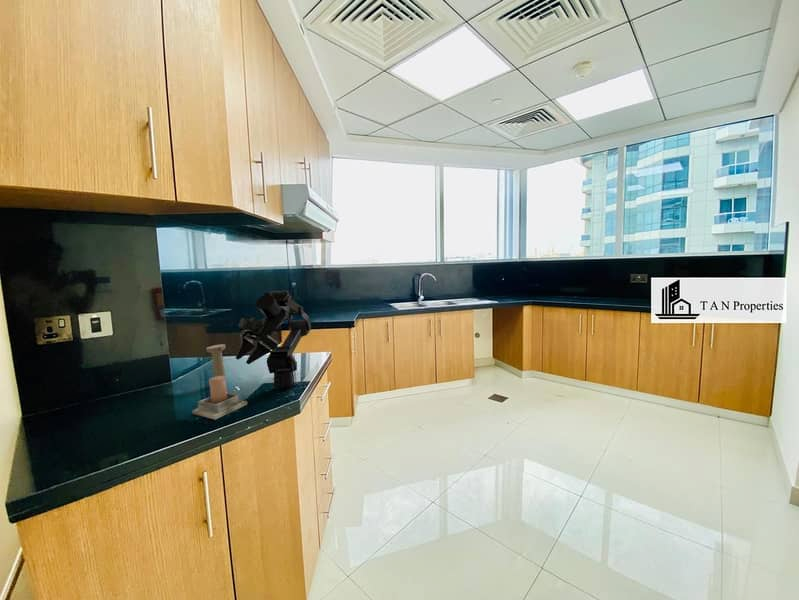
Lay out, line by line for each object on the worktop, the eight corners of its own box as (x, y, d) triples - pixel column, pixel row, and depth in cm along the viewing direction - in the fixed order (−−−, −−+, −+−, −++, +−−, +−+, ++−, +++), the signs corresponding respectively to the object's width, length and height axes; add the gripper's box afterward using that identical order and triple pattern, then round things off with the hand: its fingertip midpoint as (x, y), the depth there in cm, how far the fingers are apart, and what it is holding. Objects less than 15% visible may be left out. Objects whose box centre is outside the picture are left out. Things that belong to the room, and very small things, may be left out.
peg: (219, 402, 106) (215, 375, 105) (231, 402, 105) (228, 375, 104) (209, 408, 101) (205, 380, 100) (221, 409, 100) (218, 380, 99)
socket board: (225, 399, 110) (224, 389, 110) (247, 404, 105) (246, 394, 105) (192, 413, 101) (191, 402, 100) (215, 419, 96) (213, 408, 95)
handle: (231, 382, 127) (227, 345, 126) (214, 388, 122) (209, 349, 121) (225, 380, 130) (221, 343, 129) (208, 385, 125) (204, 347, 124)
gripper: (242, 307, 115) (211, 344, 109) (264, 309, 102) (231, 352, 95) (266, 325, 122) (239, 361, 115) (290, 330, 109) (260, 371, 102)
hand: (241, 361), depth 107 cm, fingers open, 9 cm apart
